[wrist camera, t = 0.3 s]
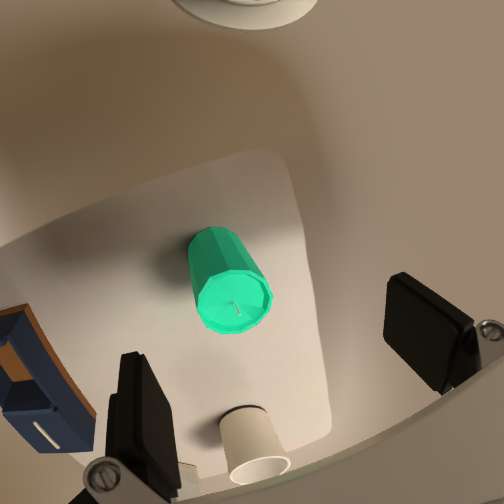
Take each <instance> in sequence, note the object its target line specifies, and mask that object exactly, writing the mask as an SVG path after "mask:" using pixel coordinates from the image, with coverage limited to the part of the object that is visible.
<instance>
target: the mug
mask: <svg viewBox="0 0 504 504" xmlns="http://www.w3.org/2000/svg"><path fill="white" fill-rule="evenodd" d="M219 429H220V433H221V438H222V442H223V447H224V451H225V455H226V459H227V465H228V472H229V477H230V479H231V481H233V482H234V483H237V484H239V485H247V484H251V483H254V482H258V481H261V480H264V479H268V478H271V477H274V476H277V475H281V474H283V473H284V472H285V471H286V470H287V469H288V468H289V466H290V459H289V458H288V456H287V454H286V452H285V451H284V449H283V447H282V445H281V443H280V441H279V439H278V436H277V434H276V432H275V430H274V427H273V425H272V423H271V421H270V418H269V416H268V414H267V412H266V411H265V410H264V409H262V408H261V407H258V406H252V405H247V406H241V407H237V408H234V409H232V410H230V411H228V412H227V413H225V414H224V415H223V416H222V418H221V419H220V421H219Z"/></svg>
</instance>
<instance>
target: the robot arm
mask: <svg viewBox="0 0 504 504" xmlns="http://www.w3.org/2000/svg"><path fill="white" fill-rule="evenodd" d="M221 1H223V2H227V3H230V4H234V5H240V6H264V5H270V4H273V3H276V2H279V1H281V0H257V1H255V0H221ZM473 324H474V320H473V319H472V318H470V317H469V316H468V315H466V314H465V313H464V312H462V311H461V310H459V309H458V308H457V307H455V306H454V305H452V304H451V303H449V302H448V301H447V300H445V299H444V298H442V297H441V296H440V295H438V294H437V293H435V292H434V291H432V290H431V289H429V288H428V287H426V286H425V285H423V284H422V283H420V282H419V281H417V280H416V279H414V278H413V277H411V276H410V275H409V274H407V273H405V272H401V273H399V274H396V275H393V276H391V277H390V280H389V281H388V283H387V294H386V307H385V319H384V330H383V337H384V340H385V341H386V343H387V344H388V345H389V346H390V347H391V348H392V349H393V350H394V351H395V352H396V353H397V354H398V355H399V356H400V357H401V358H402V359H403V360H404V361H405V362H406V363H407V364H408V365H409V366H410V367H411V368H412V369H413V370H414V371H415V372H416V373H417V374H418V375H419V376H420V377H421V378H422V379H423V380H424V382H425V383H427V385H428V386H429V387H430V388H431V389H432V390H433V391H438V392H439V394H441V396H442V395H444V394H446V393H447V392H448V391H450V390H451V389H452V386H453V387H454V388H455V389H453V390H452V391H450V392H449V393H447V394H446V395H444V396H443V397H441V398H440V399H439V400H437V401H435V402H433V403H432V404H430V405H429V406H427V407H425V408H424V409H422V410H420V411H419V412H417V413H415V414H414V415H412V416H411V417H409V418H407V419H405V420H403V421H402V422H400V423H398V424H396V425H394V426H392V427H391V428H389V429H387V430H385V431H383V432H381V433H379V434H377V435H375V436H373V437H371V438H370V439H367V440H365V441H363V442H361V443H359V444H357V445H354V446H352V447H350V448H348V449H346V450H343V451H341V452H339V453H336V454H334V455H332V456H330V457H327V458H324V459H322V460H319V461H317V462H314V463H312V464H309V465H306V466H304V467H301V468H298V469H296V470H292V471H289V472H287V473H284V474H281V475H277V476H274V477H271V478H268V479H264V480H261V481H258V482H254V483H251V484H247V485H244V486H240V487H236V488H233V489H228V490H224V491H221V492H216V493H211V494H207V495H203V496H199V497H195V498H190V499H186V500H182V501H178V502H175V503H171V498H176V497H178V491H177V489H181V488H182V485H181V478H180V472H179V465H178V459H177V451H176V444H175V436H174V428H173V419H172V411H171V407H170V404H169V402H168V400H167V398H166V396H165V395H164V393H163V391H162V389H161V387H160V385H159V383H158V381H157V379H156V377H155V375H154V373H153V371H152V369H151V367H150V365H149V363H148V361H147V359H146V357H145V355H144V354H141V355H139V353H138V352H137V351H135V352H131V353H126V354H122V355H121V361H120V370H119V379H118V390H117V393H115V394H111V396H110V399H109V408H108V419H107V432H106V448H105V457H100V458H97V459H95V460H93V461H92V462H90V464H89V465H88V466H87V467H86V469H85V471H84V474H83V482H84V485H85V487H86V488H85V489H83V490H82V491H81V492H80V493H79V494H78V495H77V496H76V497H75V498H74V499H73V500H72V501H71V502H69V503H68V504H504V325H503V324H502V323H500V322H498V321H495V320H483V321H481V322H480V323H478V325H477V327H476V328H475V327H474V326H473Z"/></svg>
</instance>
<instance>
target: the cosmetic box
mask: <svg viewBox="0 0 504 504" xmlns="http://www.w3.org/2000/svg"><path fill="white" fill-rule="evenodd" d="M178 465H179V472H180V478H181V485H182V488H181V489H177V491H178V497H176V498H171V503H175V502H178V501H182V500H186V499H190V498H195V497H199V496H203V492H202V487H201V484H200V480H199V475H198V471H197V467H196V466H192V465H187V464H182V463H178Z"/></svg>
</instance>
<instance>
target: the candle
mask: <svg viewBox="0 0 504 504" xmlns="http://www.w3.org/2000/svg"><path fill="white" fill-rule="evenodd" d="M188 264H189V270H190V276H191V281H192V287H193V292H194V298H195V303H196V308H197V312H198V313H199V315H200V317H201V319H202V321H203V322H204V324H205V326H206V328H209V329H211V330H213V331H216V332H218V333H220V334H241V333H243V332H244V331H246V330H248V329H250V328H252V327H254V326H255V325H257V324H258V323H259V322H260V321H261V320H262V319H263V318H264V317H265V316H266V315H267V313H268V312H269V311H270V307H271V304H272V300H273V294H272V292H271V290H270V288H269V285H268V283H267V281H266V279H265V277H264V276H263V274H262V273H261V271H260V270H259V268H258V267H257V265H256V264H255V262H254V261H253V259H252V258H251V256H250V255H249V253H248V251H247V250H246V248H245V247H244V245H243V244H242V242H241V241H240V239H239V238H238V236H237V235H236V234H234V233H233V232H231V231H229V230H228V229H226V228H220V227H210V228H208V229H205V230H203V231H201V232H199V233H197V234H196V236H195V237H194V239H193V240H192V241H191V243H190V244H189V247H188Z"/></svg>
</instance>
